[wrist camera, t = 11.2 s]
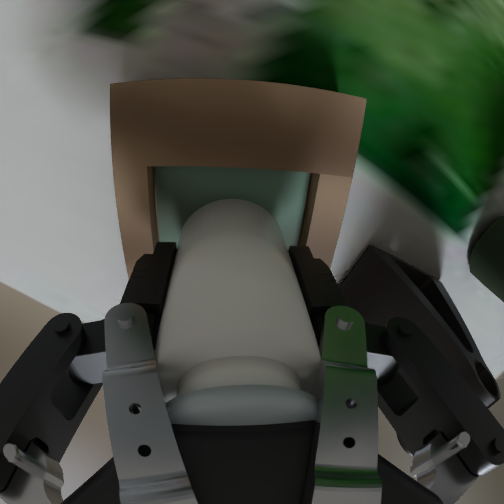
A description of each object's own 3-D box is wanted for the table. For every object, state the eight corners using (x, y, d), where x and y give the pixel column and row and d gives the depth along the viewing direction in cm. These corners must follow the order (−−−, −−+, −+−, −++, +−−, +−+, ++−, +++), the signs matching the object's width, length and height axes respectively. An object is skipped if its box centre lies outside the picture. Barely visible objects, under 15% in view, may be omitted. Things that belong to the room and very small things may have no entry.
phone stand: (439, 280, 20) (515, 394, 10) (396, 330, 23) (449, 444, 13) (369, 242, 18) (469, 405, 8) (319, 307, 20) (369, 467, 10)
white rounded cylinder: (177, 197, 11) (119, 392, 4) (289, 201, 12) (370, 387, 5) (181, 286, 14) (162, 460, 7) (275, 288, 14) (311, 457, 7)
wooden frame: (134, 82, 11) (110, 83, 9) (338, 93, 12) (366, 99, 10) (152, 305, 19) (143, 340, 16) (297, 307, 20) (306, 342, 17)
